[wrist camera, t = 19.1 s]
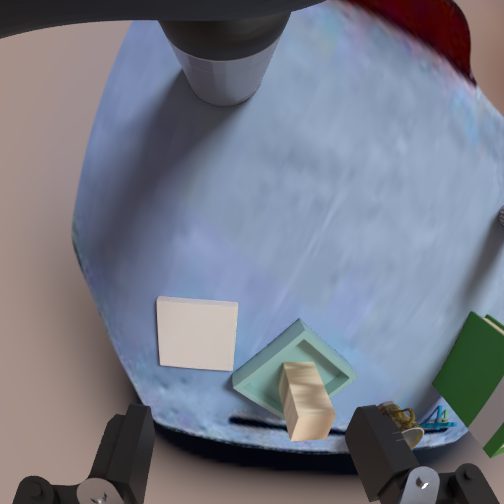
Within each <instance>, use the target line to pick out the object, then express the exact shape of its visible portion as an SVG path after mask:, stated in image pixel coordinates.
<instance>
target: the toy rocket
mask: <svg viewBox="0 0 504 504" xmlns="http://www.w3.org/2000/svg"><path fill="white" fill-rule="evenodd" d="M499 218H500V223H501V224H502V225H503V226H504V206H503V207H502V208H501V211H500V216H499Z"/></svg>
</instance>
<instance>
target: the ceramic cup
mask: <svg viewBox="0 0 504 504" xmlns="http://www.w3.org/2000/svg"><path fill="white" fill-rule="evenodd" d="M378 409H379V410H380V412H381V414H382V415H387V416H388V417H389V418H391V419H392V420H393V421H394V422H395V423H396V425H397V426H398V428H399V430H400V433H402V435H403V437H404V440H406V442H407V444H408V445H409V447H410V449H411V450H412V449H413V448H414V447H415V446H416V445H417V444H418V443H419V442H420V441H421V439H422V438H423V435H424V430H423V429H422V428H421V426H420V425H419V424H418V423H416V422H415V421H414V419H415V415H414V412H413V410H412V409H410V408H407V409H404V410H402V409H401V408H400V407H399V406H398V405H396V404H395V403H394V402H393V401H389V402H385V403H382V404H380V405H379V406H378ZM407 410H408V411H409V412H410V414H411V415H410V417H409V416H408V415H406V414H405V413H404V411H407Z"/></svg>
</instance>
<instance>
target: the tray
mask: <svg viewBox="0 0 504 504" xmlns="http://www.w3.org/2000/svg"><path fill="white" fill-rule="evenodd" d="M283 362H314V363H315V365H316V368H317V370H318V373H319V375H320V377H321V380H322V382H323V384H324V387H325V389H326V392H327V394H328V397H329V399H330V398H332V397H333V396H335V395H336V394H337V393H338V392H340V391H341V390H342V389H344V388H345V387H346V386H348V385H349V384H350V383H351V382H353V381H354V380H355V379H356V378H358V376H357V374H356V372H355V370H354V369H353V367H352V365H351V364H350V363H349V362H348V361H347V360H345V359H344V358H343V357H342V356H341V355H340V354H339V353H338V352H337V351H336V350H334V349H333V348H332V347H331V346H330V345H329V344H328V343H327V342H326V341H324V340H323V339H322V338H321V337H320V336H319V335H318V334H317V333H316V332H315V331H313V330H312V329H311V328H310V327H309V326H308V325H307V324H306V323H305V322H304V321H303V320H301V319H300V318H299V319H298V320H297V321H295V322H294V323H293V324H292V325H291V326H290V327H289V328H287V329H286V330H285V331H284V332H283V333H282V334H280V335H279V336H278V337H277V338H276V339H274V340H273V341H272V342H271V343H270V344H268V345H267V346H266V347H265V348H264V349H262V350H261V351H260V352H259V353H258V354H256V355H255V356H254V357H253V358H251V359H250V360H249V361H248V362H246V363H245V364H244V365H243V366H241V367H240V368H239V369H238V370H236V371H235V372H234V373H233V374H232V378H233V388H234V389H235V390H237V391H238V392H240V393H241V394H243V395H244V396H246V397H247V398H249V399H251V400H252V401H254V402H255V403H257V404H258V405H260V406H262V407H263V408H265V409H267V410H268V411H270V412H271V413H273V414H275V415H276V416H278V417H280V418H282V419H283V420H285V416H284V411H283V407H282V403H281V398H280V394H279V390H278V382H279V377H280V373H281V368H282V364H283ZM285 421H286V420H285Z"/></svg>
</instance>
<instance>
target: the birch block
mask: <svg viewBox="0 0 504 504" xmlns="http://www.w3.org/2000/svg"><path fill="white" fill-rule="evenodd" d="M278 390H279V394H280V398H281V403H282V407H283V411H284V416H285V420H286V424H287V429H288V433H289V437H290V441H304V440H317V439H326V437H327V435H328V433H329V431H330V428H331V426H332V424H333V422H334V419H335V417H336V413H335V411H334V409H333V406H332V404H331V401H330V399H329V397H328V394H327V392H326V389H325V387H324V384H323V382H322V380H321V377H320V375H319V373H318V370H317V368H316V365H315V363H314V362H283V364H282V368H281V373H280V377H279V382H278Z"/></svg>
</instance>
